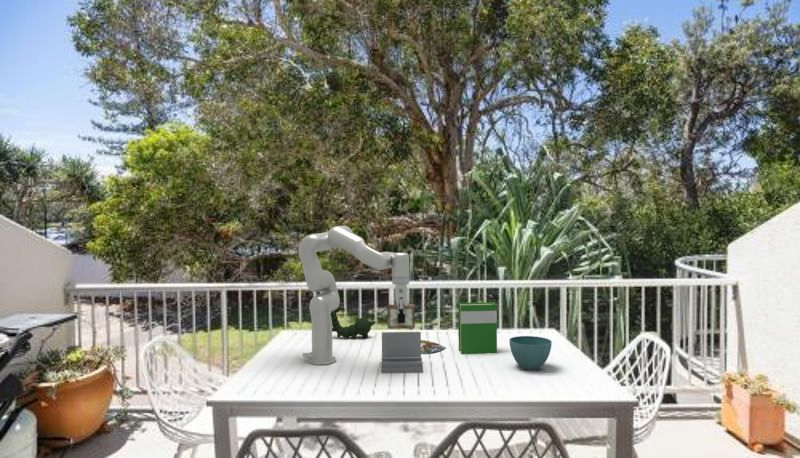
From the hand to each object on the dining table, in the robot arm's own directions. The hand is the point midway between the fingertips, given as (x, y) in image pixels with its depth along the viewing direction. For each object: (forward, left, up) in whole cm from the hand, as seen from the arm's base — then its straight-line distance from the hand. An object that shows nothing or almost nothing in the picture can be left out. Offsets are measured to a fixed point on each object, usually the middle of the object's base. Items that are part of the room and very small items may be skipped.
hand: (401, 321), depth 244 cm
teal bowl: (+57, -1, -22) cm, 61 cm away
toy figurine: (-26, +62, -22) cm, 71 cm away
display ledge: (0, +3, -21) cm, 21 cm away
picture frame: (0, 0, -3) cm, 3 cm away
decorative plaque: (+8, +39, -22) cm, 46 cm away
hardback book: (+38, +28, -22) cm, 52 cm away
